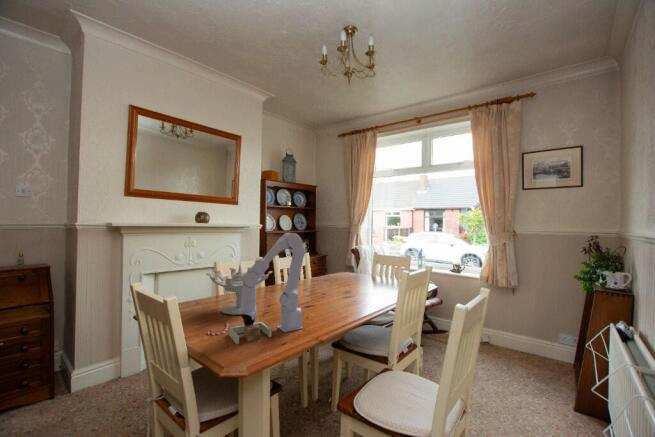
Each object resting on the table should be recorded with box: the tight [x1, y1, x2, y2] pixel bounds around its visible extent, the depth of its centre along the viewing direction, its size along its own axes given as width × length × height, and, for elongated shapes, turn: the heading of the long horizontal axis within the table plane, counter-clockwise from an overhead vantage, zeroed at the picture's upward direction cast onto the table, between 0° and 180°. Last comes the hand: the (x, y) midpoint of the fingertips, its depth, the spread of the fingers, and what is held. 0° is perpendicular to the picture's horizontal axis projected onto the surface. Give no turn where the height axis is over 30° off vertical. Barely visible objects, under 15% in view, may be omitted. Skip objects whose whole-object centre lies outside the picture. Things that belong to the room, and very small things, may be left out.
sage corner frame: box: [228, 321, 273, 345], centre depth 127 cm, size 15×12×3 cm
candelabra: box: [205, 262, 273, 316], centre depth 162 cm, size 34×35×27 cm
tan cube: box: [243, 324, 261, 342], centre depth 124 cm, size 5×5×5 cm
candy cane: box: [206, 322, 230, 337], centre depth 134 cm, size 8×1×15 cm
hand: (248, 331), depth 128 cm, fingers closed
